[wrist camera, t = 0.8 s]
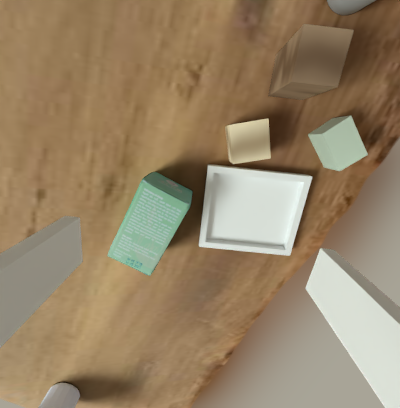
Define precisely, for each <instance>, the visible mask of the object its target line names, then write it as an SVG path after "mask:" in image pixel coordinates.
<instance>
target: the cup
mask: <svg viewBox="0 0 400 408" xmlns="http://www.w3.org/2000/svg"><path fill="white" fill-rule="evenodd" d="M374 1H376V0H327V2H328V5H329V7H330V8H331V9H332V11H334V12H335V13H337V14H339V15H350V14H353V13H355V12H357V11H358V10H360V9H362V8H364V7H365V6H367V5H369V4H371V3H372V2H374Z"/></svg>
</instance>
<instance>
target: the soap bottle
mask: <svg viewBox="0 0 400 408" xmlns="http://www.w3.org/2000/svg"><path fill="white" fill-rule="evenodd" d="M79 398H80V393H79V390H78V389H77V388H76V387H75V386H73V385H71V384H68V383H57V384H55V385H53V386H52V387H51V388H50V389H49V391H48V393H47V394H46V396H45V397H44V399H43V401H42V402H41V404H40V406H39V407H38V408H75V406H76V404H77V402H78V400H79Z"/></svg>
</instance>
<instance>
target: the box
mask: <svg viewBox="0 0 400 408" xmlns="http://www.w3.org/2000/svg"><path fill="white" fill-rule="evenodd" d="M192 193H193V192H192V191H191V190H189V189H187V188H186V187H184V186H182V185H180V184H178V183H176V182H174V181H172V180H170V179H168V178H166V177H164V176H163V175H161V174H159V173H157V172H152V173H150V174H148V175H147V176H146V177H144V178H143V179H142V181H141V182H140V185H139V187H138V190H137V192H136V194H135V196H134V198H133V200H132V203H131V205H130V207H129V209H128V211H127V213H126V216H125V218H124V220H123V222H122V224H121V226H120V228H119V231H118V233H117V235H116V237H115V239H114V241H113V243H112V245H111V247H110V250H109V253H108V256H109V257H111V258H113V259H115V260H117V261H119V262H121V263H123V264H126V265H128V266H130V267H132V268H134V269H136V270H138V271H140V272H142V273H144V274H146V275H149V276H150V275H151V274H152V272H153V271H154V269H155V268H156V266H157V264H158V262H159V261H160V259H161V257H162V255H163V253H164V252H165V250H166V248H167V246H168V245H169V243H170V241H171V239H172V237H173V236H174V234H175V232H176V230H177V229H178V227H179V225H180V223H181V221H182V220H183V218H184V216H185V214H186V213H187V211H188V210H189V208H190V205H191V201H192Z"/></svg>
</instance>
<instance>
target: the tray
mask: <svg viewBox="0 0 400 408" xmlns="http://www.w3.org/2000/svg"><path fill="white" fill-rule="evenodd" d="M311 180H312V176H309V175H306V174H297V173H288V172H278V171H269V170H260V169H250V168H241V167H231V166H222V165H213V164H208V168H207V177H206V185H205V194H204V203H203V211H202V220H201V229H200V238H199V247H208V248H218V249H228V250H238V251H248V252H258V253H268V254H278V255H288V256H290V254H291V250H292V247H293V243H294V240H295V236H296V233H297V229H298V226H299V222H300V219H301V215H302V212H303V208H304V205H305V201H306V198H307V194H308V191H309V187H310V184H311Z"/></svg>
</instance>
